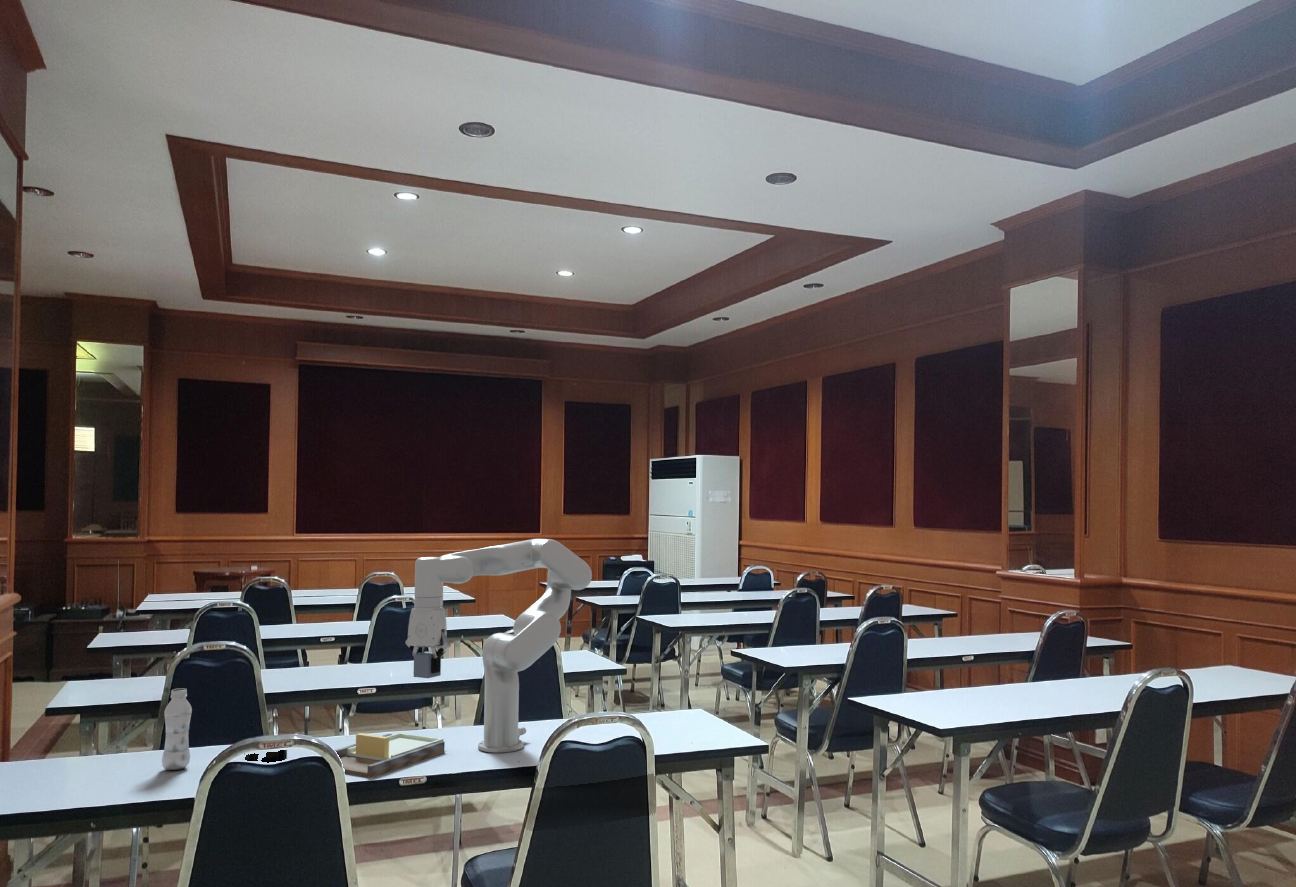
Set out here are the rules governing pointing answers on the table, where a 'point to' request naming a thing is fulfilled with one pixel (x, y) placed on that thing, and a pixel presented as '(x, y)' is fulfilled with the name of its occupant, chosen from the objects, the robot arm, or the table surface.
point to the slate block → (423, 665)
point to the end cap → (269, 756)
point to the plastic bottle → (177, 731)
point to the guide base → (379, 767)
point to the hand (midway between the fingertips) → (427, 670)
